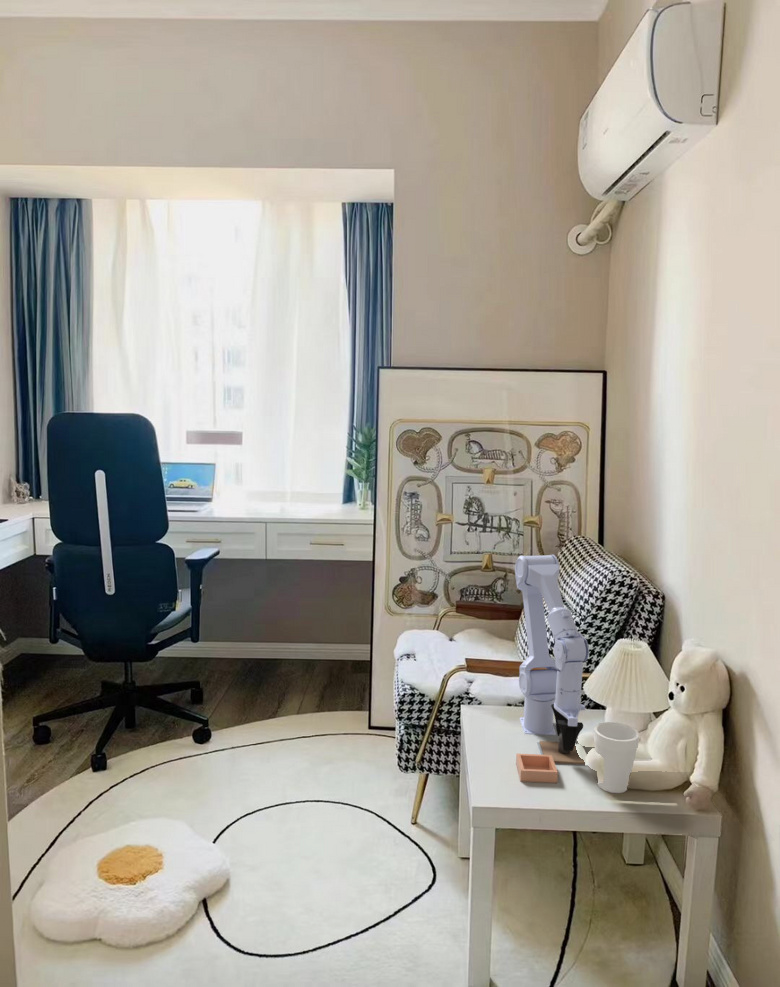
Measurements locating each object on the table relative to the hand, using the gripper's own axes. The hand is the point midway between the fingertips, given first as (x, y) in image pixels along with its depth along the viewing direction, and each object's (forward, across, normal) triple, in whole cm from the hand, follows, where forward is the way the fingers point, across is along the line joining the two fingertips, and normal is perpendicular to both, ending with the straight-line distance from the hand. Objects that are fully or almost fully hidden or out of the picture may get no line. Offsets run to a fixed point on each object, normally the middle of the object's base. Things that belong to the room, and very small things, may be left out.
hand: (564, 742), depth 193 cm
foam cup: (+4, -14, -8) cm, 16 cm away
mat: (+3, 0, 0) cm, 3 cm away
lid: (+3, 0, 0) cm, 3 cm away
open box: (+3, -10, +8) cm, 13 cm away
